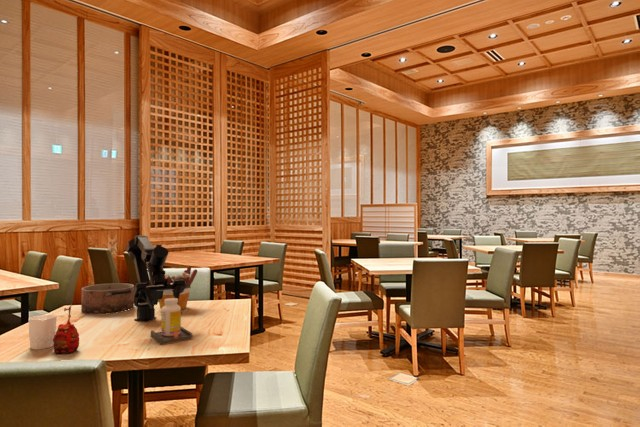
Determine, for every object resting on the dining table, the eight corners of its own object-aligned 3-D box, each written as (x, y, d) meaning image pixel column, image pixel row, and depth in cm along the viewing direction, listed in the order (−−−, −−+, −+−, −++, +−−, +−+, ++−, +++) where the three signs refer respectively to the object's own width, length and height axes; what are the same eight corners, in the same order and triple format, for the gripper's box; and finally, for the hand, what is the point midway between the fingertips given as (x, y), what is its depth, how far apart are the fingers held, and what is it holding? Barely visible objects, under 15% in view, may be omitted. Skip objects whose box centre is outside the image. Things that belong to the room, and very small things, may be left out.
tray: (150, 336, 153) (150, 327, 153) (180, 331, 160) (180, 323, 160) (160, 344, 144) (160, 335, 144) (191, 339, 150) (192, 330, 150)
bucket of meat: (165, 314, 188) (166, 270, 188) (145, 309, 198) (146, 267, 198) (202, 307, 204) (202, 266, 204) (182, 303, 214) (182, 264, 214)
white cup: (36, 343, 144) (37, 314, 144) (60, 343, 145) (61, 314, 145) (22, 350, 136) (23, 319, 137) (48, 350, 137) (48, 319, 137)
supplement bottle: (183, 332, 155) (183, 297, 155) (175, 337, 148) (176, 301, 149) (166, 331, 156) (166, 297, 156) (157, 336, 149) (158, 300, 149)
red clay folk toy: (47, 354, 132) (48, 307, 133) (61, 348, 140) (62, 303, 140) (71, 354, 133) (72, 307, 133) (84, 348, 140) (85, 303, 140)
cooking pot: (68, 309, 199) (69, 286, 199) (114, 301, 217) (115, 281, 217) (100, 318, 182) (100, 293, 182) (147, 309, 200) (147, 287, 200)
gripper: (175, 283, 177) (183, 315, 168) (127, 288, 165) (134, 321, 156) (181, 267, 170) (191, 298, 162) (133, 270, 159) (140, 304, 150)
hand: (164, 306), depth 158 cm, fingers open, 9 cm apart
